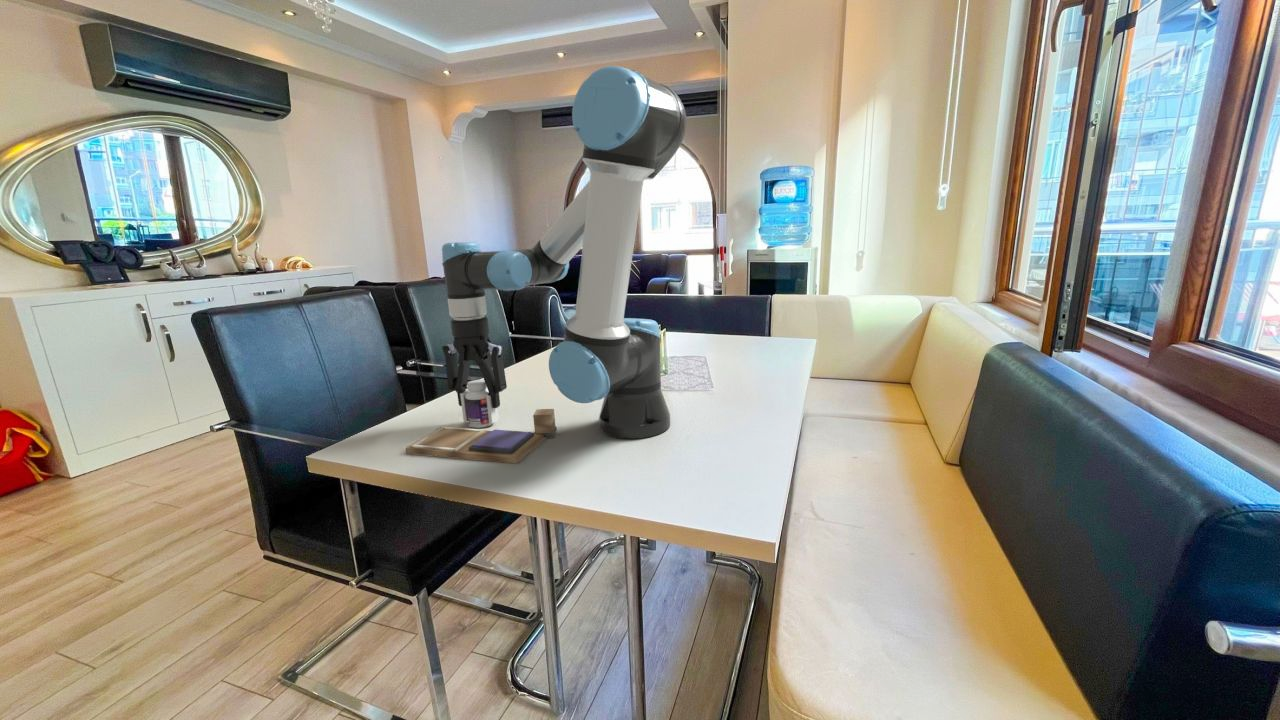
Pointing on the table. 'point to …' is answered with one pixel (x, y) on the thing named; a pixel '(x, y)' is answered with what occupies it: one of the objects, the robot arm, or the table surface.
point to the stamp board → (477, 444)
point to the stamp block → (545, 422)
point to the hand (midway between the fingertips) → (481, 420)
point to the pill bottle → (477, 404)
